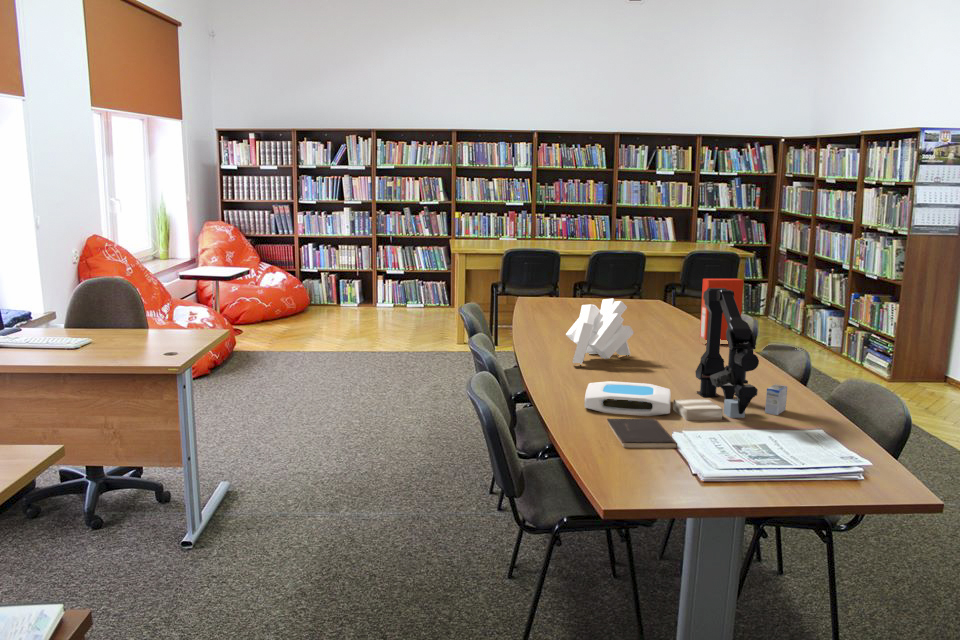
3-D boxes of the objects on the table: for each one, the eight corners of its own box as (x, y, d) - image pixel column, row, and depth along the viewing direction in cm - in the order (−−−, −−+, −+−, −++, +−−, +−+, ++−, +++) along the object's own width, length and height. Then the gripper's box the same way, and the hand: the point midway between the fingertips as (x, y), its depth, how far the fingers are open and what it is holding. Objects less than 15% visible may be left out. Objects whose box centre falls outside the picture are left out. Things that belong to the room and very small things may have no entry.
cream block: (673, 411, 258) (673, 399, 257) (706, 410, 259) (707, 399, 259) (686, 421, 246) (687, 409, 245) (721, 420, 247) (722, 408, 247)
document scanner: (669, 418, 249) (670, 399, 248) (584, 411, 255) (584, 393, 254) (669, 401, 269) (669, 384, 268) (589, 396, 275) (590, 379, 274)
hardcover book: (622, 449, 219) (622, 441, 218) (606, 425, 241) (607, 418, 241) (677, 449, 219) (677, 442, 219) (656, 425, 242) (657, 418, 241)
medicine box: (772, 408, 261) (774, 383, 260) (785, 410, 258) (787, 386, 257) (764, 413, 255) (766, 388, 254) (778, 415, 252) (780, 390, 251)
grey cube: (723, 413, 254) (724, 399, 253) (737, 413, 255) (738, 399, 254) (730, 418, 249) (731, 403, 248) (744, 417, 250) (745, 403, 249)
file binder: (699, 342, 379) (702, 278, 374) (732, 341, 380) (736, 278, 375) (705, 345, 371) (709, 280, 366) (739, 345, 372) (743, 280, 367)
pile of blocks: (620, 385, 313) (656, 309, 315) (554, 353, 317) (590, 278, 319) (614, 387, 347) (646, 319, 349) (555, 359, 352) (587, 291, 354)
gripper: (702, 358, 257) (699, 402, 260) (726, 370, 239) (723, 418, 242) (733, 357, 259) (730, 402, 261) (759, 370, 240) (756, 417, 243)
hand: (734, 409), depth 252 cm, fingers open, 9 cm apart
